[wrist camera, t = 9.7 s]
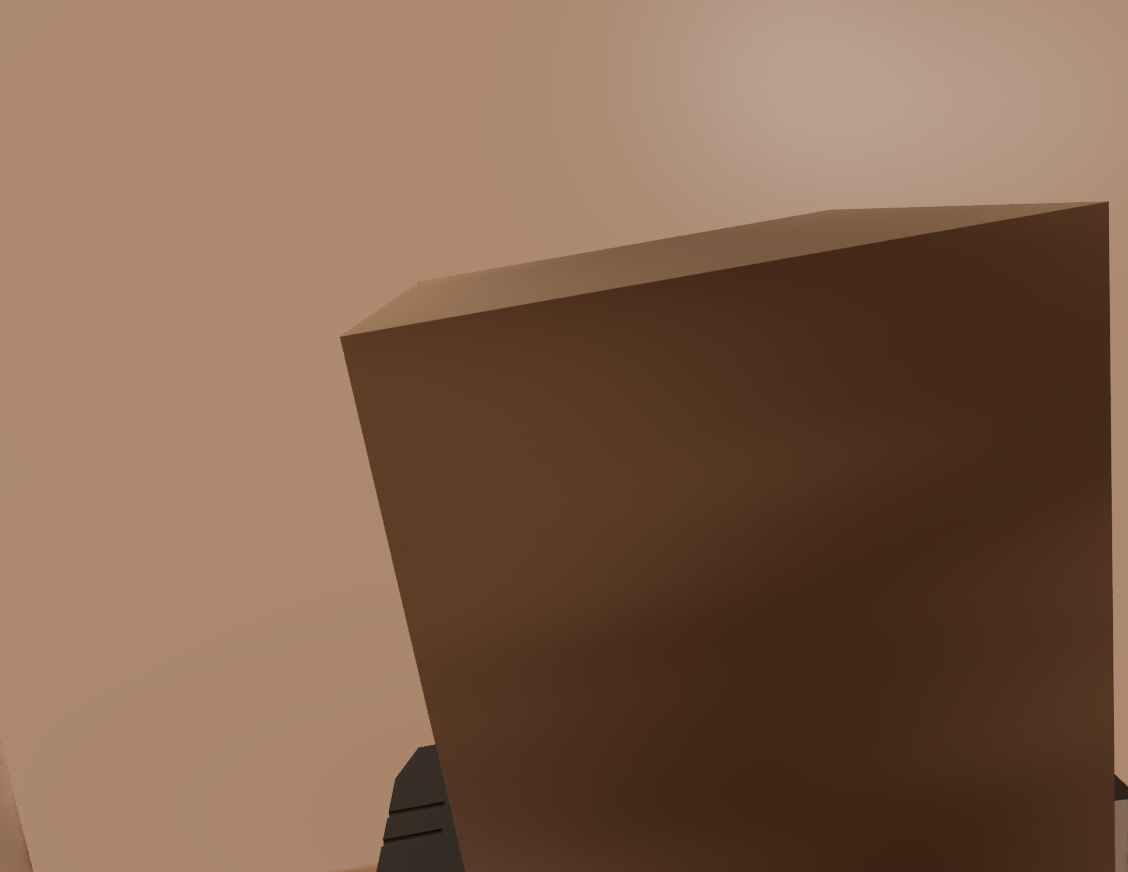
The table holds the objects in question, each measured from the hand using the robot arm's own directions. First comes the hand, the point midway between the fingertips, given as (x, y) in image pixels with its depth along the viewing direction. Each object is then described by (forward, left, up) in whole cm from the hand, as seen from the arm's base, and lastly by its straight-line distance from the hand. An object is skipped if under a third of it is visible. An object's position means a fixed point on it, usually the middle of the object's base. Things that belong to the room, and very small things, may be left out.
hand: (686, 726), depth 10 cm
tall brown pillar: (0, -3, -8) cm, 9 cm away
